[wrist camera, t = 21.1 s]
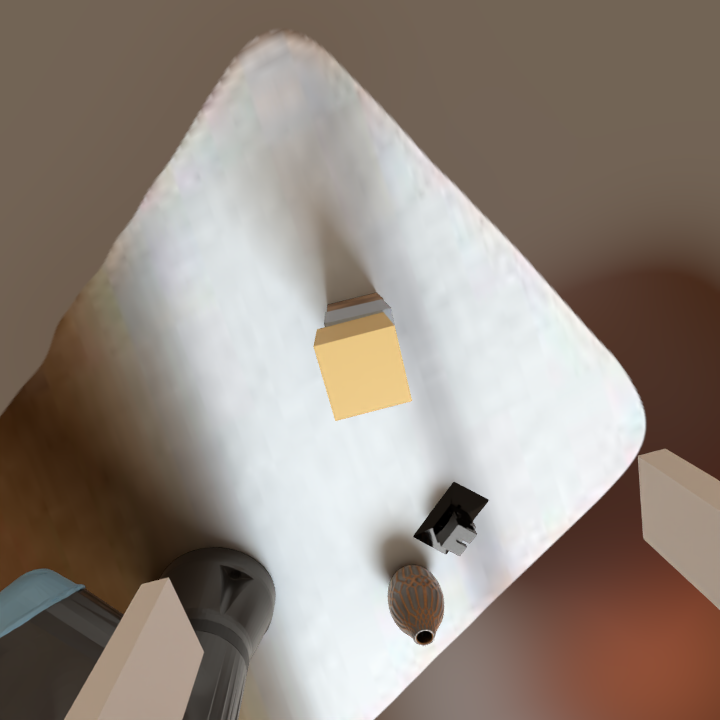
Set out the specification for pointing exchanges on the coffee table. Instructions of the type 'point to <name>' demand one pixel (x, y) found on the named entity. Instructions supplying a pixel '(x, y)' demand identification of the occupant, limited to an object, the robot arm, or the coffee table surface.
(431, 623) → the vase
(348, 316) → the gray brick
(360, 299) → the walnut brick
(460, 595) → the coffee table surface
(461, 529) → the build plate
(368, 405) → the yellow cube
